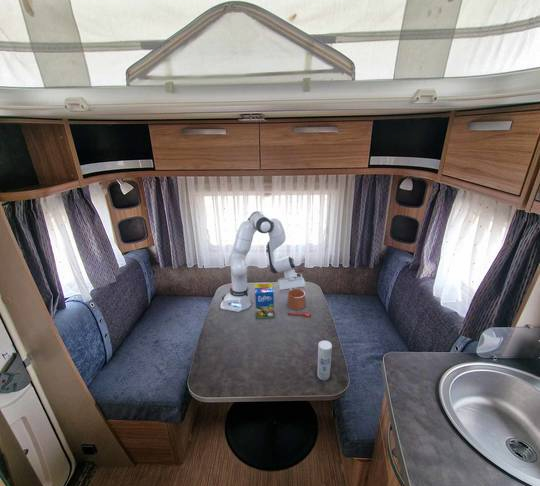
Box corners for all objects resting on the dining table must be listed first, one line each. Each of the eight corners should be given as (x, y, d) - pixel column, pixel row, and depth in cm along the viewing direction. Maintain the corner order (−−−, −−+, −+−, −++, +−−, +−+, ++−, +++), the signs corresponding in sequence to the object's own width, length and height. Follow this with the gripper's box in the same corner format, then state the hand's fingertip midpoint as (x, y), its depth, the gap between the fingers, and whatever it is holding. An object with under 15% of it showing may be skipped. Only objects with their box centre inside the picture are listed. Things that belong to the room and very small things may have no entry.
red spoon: (287, 316, 194) (287, 314, 193) (288, 312, 198) (288, 311, 197) (310, 317, 192) (310, 315, 191) (310, 314, 195) (310, 312, 195)
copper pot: (287, 309, 202) (286, 297, 198) (289, 299, 213) (289, 288, 209) (304, 310, 200) (304, 298, 196) (305, 301, 211) (305, 289, 206)
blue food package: (256, 313, 198) (254, 282, 188) (274, 312, 198) (272, 281, 188) (256, 318, 192) (254, 286, 182) (274, 318, 193) (273, 285, 182)
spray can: (328, 370, 148) (330, 340, 140) (331, 380, 142) (333, 349, 134) (316, 370, 148) (317, 340, 140) (318, 380, 142) (319, 349, 134)
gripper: (277, 277, 210) (281, 295, 206) (304, 273, 214) (308, 291, 209) (276, 280, 216) (279, 297, 211) (302, 276, 219) (306, 293, 215)
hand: (294, 294), depth 210 cm, fingers closed, pressing on copper pot
